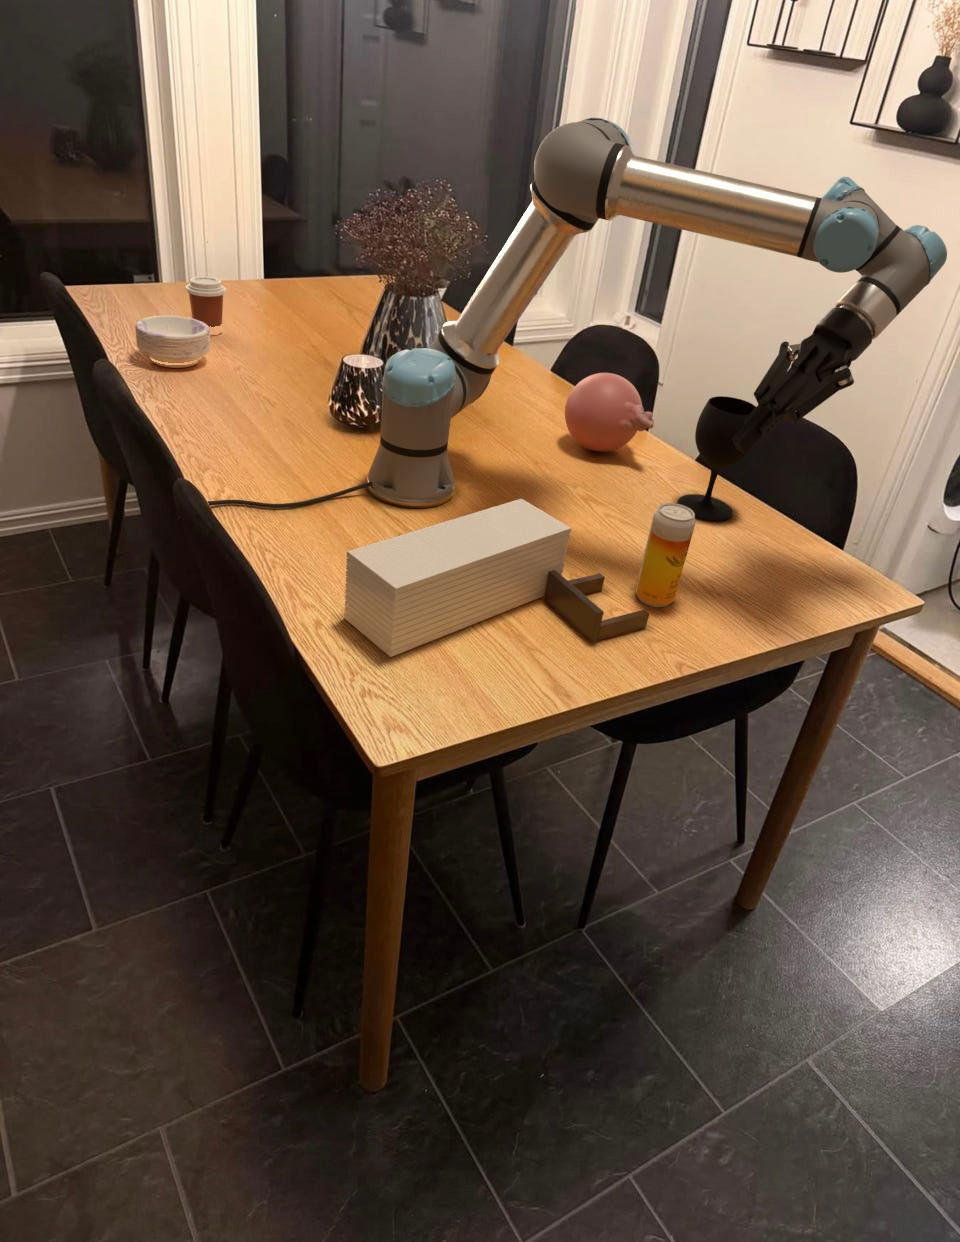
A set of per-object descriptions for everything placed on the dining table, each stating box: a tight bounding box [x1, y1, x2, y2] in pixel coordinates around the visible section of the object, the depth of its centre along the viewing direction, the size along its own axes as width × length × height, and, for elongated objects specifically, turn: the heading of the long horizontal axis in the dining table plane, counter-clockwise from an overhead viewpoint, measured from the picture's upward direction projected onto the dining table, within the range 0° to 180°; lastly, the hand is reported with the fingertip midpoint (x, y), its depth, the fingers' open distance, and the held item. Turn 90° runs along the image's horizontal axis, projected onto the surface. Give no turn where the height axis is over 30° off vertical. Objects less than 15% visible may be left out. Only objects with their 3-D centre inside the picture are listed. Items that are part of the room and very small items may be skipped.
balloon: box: [564, 372, 655, 453], centre depth 183 cm, size 15×20×15 cm
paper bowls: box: [135, 315, 211, 369], centre depth 200 cm, size 15×15×8 cm
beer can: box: [635, 502, 697, 608], centre depth 137 cm, size 6×6×15 cm
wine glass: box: [676, 395, 757, 523], centre depth 165 cm, size 10×10×20 cm
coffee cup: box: [185, 275, 227, 327], centre depth 217 cm, size 9×9×12 cm
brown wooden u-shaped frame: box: [543, 570, 650, 643], centre depth 135 cm, size 10×12×5 cm
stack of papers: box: [343, 498, 572, 658], centre depth 131 cm, size 32×11×11 cm, turn 131°
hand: (738, 446), depth 133 cm, fingers closed
